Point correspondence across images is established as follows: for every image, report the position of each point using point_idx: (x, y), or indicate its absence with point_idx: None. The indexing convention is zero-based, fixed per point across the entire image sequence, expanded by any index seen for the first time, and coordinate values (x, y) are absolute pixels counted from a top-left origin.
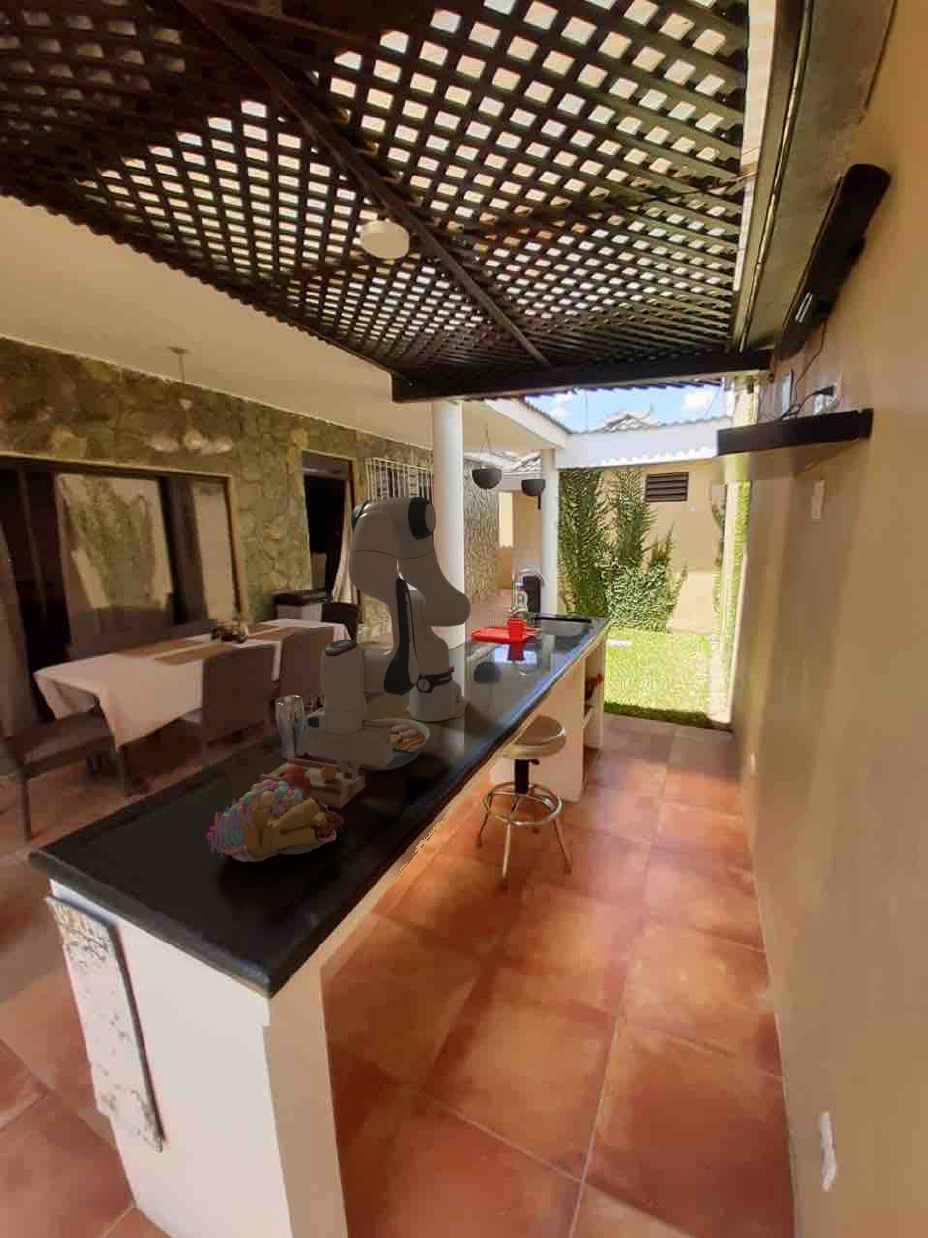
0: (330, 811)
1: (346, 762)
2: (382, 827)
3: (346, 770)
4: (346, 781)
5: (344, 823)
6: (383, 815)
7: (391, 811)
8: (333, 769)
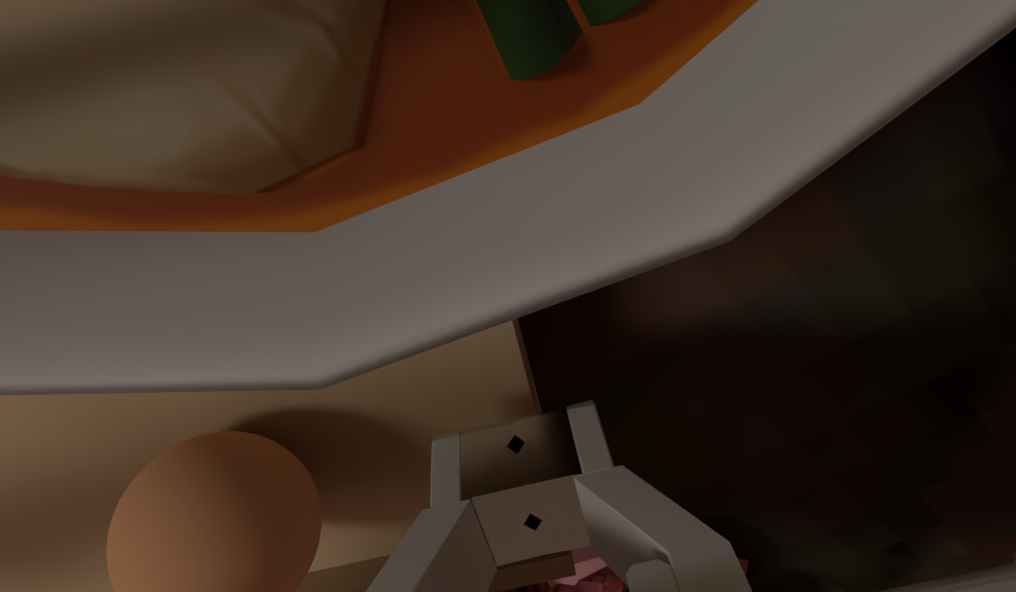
0: (610, 587)
1: (423, 578)
2: (945, 425)
3: (483, 539)
4: (432, 394)
5: (741, 560)
6: (897, 346)
7: (938, 285)
8: (285, 565)
